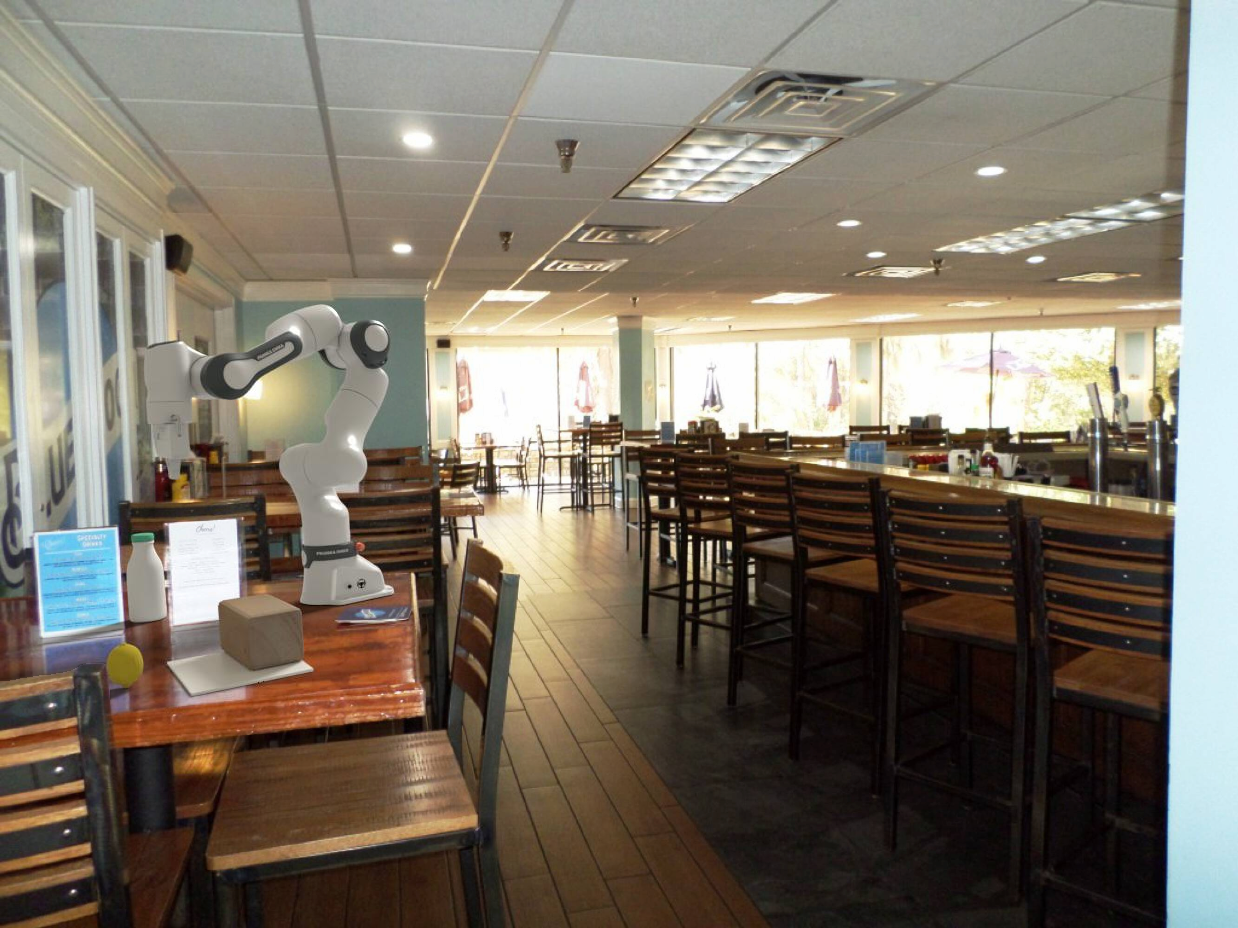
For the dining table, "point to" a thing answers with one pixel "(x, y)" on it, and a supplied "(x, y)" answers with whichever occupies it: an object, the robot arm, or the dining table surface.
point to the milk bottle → (145, 581)
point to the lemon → (125, 665)
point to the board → (227, 672)
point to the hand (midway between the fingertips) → (174, 478)
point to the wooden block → (261, 631)
